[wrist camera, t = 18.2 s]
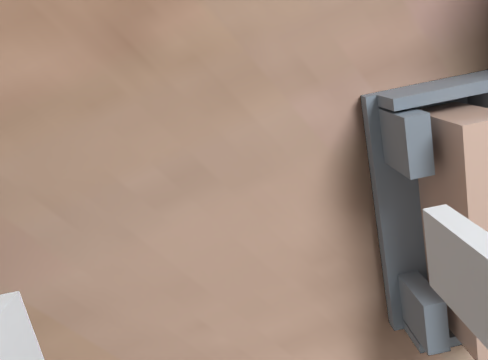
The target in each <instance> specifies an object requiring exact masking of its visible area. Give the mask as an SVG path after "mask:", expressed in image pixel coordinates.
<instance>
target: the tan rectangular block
mask: <svg viewBox="0 0 488 360" xmlns="http://www.w3.org/2000/svg"><path fill="white" fill-rule="evenodd" d="M419 110H422V111H426V112H429V113H430V119H431V130H432V142H433V154H434V165H435V175H432V176H427V177H422V178H418V184H419V195H420V205H421V216H422V226H423V236H424V247H425V257H426V268H427V278H428V282H429V273H428V262H427V252H426V242H425V231H424V221H423V210H422V209H424V208H429V207H434V206H439V205H444V204H447V205H448V206H450V207H451V208H453V209H454V210H456V211H457V212H459V213H460V214H461V215H463V216H464V217H466V218H467V219H469V220H470V221H472V222H473V223H475V224H476V225H478V226H479V227H481V228H482V229H484V230H485V231H487V232H488V108H484V107H480V106H475V105H470V104H465V103H460V102H451V103H446V104H441V105H436V106H431V107H426V108H421V109H419ZM447 315H448V327H449V329H450V330H451V332H452V333H453V334H454V335H455V336H456V338H457V339H458V340H459V341H460V342H461V344H462V345H463V346H464V347H465V348H466V350H467V351H468V352H469V353H470V354H471V356H472V357H473V358H474V359H475V360H488V349H487V348H486V347H485V346H484V345H483V344H482V343H481V341H480V340H479V339H478V338H477V337H476V336H475V335H474V334H473V333H472V332H471V330H470V329H469V328H468V327H467V326H466V325H465V324H464V323H463V322H462V320H461V319H460V318H459V317H458V316H457V315H456V314H455V313H454V312H453V311H452V309H451V308H450V307H449V306H448V305H447Z"/></svg>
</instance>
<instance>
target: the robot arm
mask: <svg viewBox="0 0 488 360" xmlns="http://www.w3.org/2000/svg"><path fill="white" fill-rule="evenodd" d="M422 210H423V221H424V231H425V242H426V252H427V262H428V273H429V283H430V286H431V287H432V288H433V289H434V291H435V292H436V293H437V294H438V295H439V296H440V297H441V298H442V299H443V301H444V302H445V303H446V304H447V305H448V306H449V307H450V308H451V309H452V311H453V312H454V313H455V314H456V315H457V316H458V317H459V318H460V319H461V320H462V322H463V323H464V324H465V325H466V326H467V327H468V328H469V329H470V330H471V332H472V333H473V334H474V335H475V336H476V337H477V338H478V339H479V340H480V341H481V343H482V344H483V345H484V346H485V347H486V348H487V349H488V232H487V231H485V230H484V229H482V228H481V227H479V226H478V225H476V224H475V223H473V222H472V221H470V220H469V219H467V218H466V217H464V216H463V215H461V214H460V213H459V212H457V211H456V210H454V209H453V208H451V207H450V206H448V205H447V204H444V205H439V206H434V207H429V208H424V209H422ZM0 360H44V357H43V354H42V352H41V349H40V346H39V344H38V341H37V338H36V335H35V333H34V330H33V327H32V325H31V322H30V319H29V316H28V314H27V311H26V308H25V306H24V303H23V300H22V297H21V295H20V292H19V291H16V292H11V293H6V294H1V295H0Z"/></svg>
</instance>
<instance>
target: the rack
mask: <svg viewBox="0 0 488 360" xmlns="http://www.w3.org/2000/svg"><path fill="white" fill-rule="evenodd" d="M451 102H460V103H465V104H470V105H475V106H480V107H484V108H488V70H483V71H478V72H474V73H469V74H464V75H459V76H454V77H449V78H444V79H439V80H434V81H429V82H425V83H420V84H415V85H410V86H405V87H400V88H395V89H390V90H385V91H380V92H376V93H371V94H366V95H361V104H362V112H363V119H364V127H365V135H366V143H367V151H368V159H369V167H370V175H371V183H372V191H373V199H374V207H375V215H376V222H377V230H378V238H379V246H380V254H381V262H382V270H383V278H384V286H385V294H386V302H387V310H388V317H389V323H390V325H391V326H392V328H393V329H394V331H395V330H400V329H404V330H405V331H406V333H407V334H408V336H409V337H410V339H411V340H412V342H413V343H414V345H415V346H416V348H417V349H418V351H419V352H420V353H424V352H426V353H427V354H428V355H433V354H438V353H443V352H448V351H451V350H450V347H454V346H459V345H462V344H461V342H460V341H459V340H458V339H457V338H456V336H455V335H454V334H453V333H452V332H451V330H450V329H449V327H448V315H447V304H446V303H445V302H444V301H443V299H442V298H441V297H440V296H439V295H438V294H437V293H436V292H435V291H434V289H433V288H432V287H431V286H430V283H429V282H428V278H427V268H426V257H425V247H424V236H423V226H422V216H421V205H420V195H419V184H418V178H422V177H427V176H432V175H435V165H434V154H433V142H432V130H431V119H430V113H429V112H426V111H422V110H419V109H421V108H426V107H431V106H436V105H441V104H446V103H451Z"/></svg>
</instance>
